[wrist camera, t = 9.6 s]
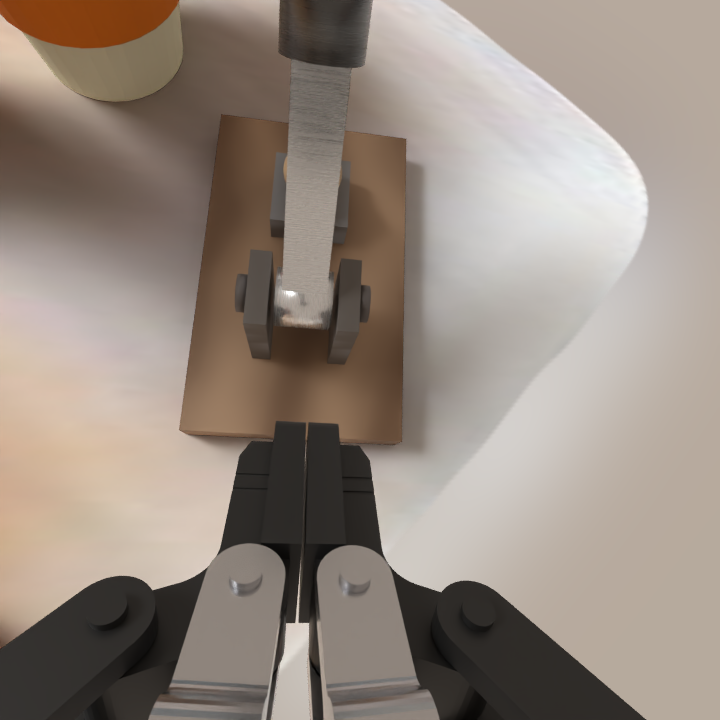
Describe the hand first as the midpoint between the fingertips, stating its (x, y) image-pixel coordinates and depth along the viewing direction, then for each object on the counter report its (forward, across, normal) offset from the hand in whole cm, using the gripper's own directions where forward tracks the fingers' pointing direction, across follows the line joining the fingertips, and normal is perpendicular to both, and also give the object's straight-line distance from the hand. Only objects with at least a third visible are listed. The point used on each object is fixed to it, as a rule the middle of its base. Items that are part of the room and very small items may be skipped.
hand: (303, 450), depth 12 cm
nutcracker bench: (+20, 0, +3) cm, 21 cm away
